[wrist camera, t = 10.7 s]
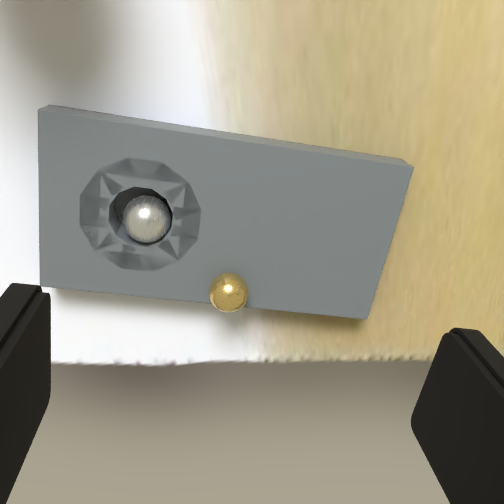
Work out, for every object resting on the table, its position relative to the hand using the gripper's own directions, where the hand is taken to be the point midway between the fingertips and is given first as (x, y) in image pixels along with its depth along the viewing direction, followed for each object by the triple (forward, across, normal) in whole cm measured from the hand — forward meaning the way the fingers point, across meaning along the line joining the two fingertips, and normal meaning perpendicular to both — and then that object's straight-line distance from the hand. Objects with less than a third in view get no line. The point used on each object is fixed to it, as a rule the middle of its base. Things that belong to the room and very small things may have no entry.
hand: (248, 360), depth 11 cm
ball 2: (+22, -2, +10) cm, 25 cm away
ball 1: (+24, +5, +6) cm, 26 cm away
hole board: (+26, -1, +6) cm, 27 cm away
